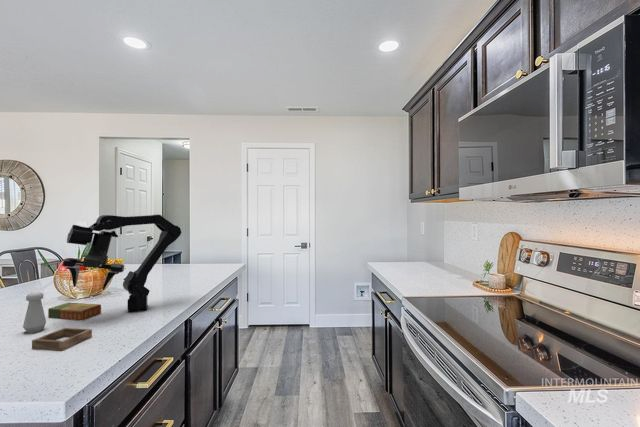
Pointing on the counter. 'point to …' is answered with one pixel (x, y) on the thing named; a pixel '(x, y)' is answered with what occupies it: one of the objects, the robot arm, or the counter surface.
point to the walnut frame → (51, 339)
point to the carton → (74, 311)
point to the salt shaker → (34, 313)
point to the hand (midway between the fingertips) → (89, 288)
